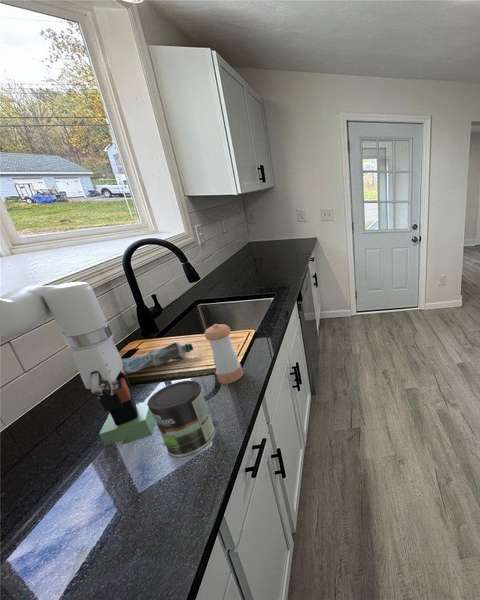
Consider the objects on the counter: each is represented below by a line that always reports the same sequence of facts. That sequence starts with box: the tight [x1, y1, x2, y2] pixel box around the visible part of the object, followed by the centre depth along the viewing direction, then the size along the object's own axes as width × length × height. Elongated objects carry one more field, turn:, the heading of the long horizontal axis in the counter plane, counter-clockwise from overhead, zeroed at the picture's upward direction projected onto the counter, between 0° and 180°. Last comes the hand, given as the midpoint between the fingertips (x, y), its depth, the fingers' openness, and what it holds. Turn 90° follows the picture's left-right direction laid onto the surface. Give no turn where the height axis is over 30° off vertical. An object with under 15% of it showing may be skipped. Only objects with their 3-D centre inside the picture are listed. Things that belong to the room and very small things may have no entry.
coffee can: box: [147, 380, 217, 458], centre depth 75 cm, size 10×10×14 cm
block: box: [98, 400, 156, 447], centre depth 81 cm, size 9×9×5 cm
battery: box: [102, 378, 138, 426], centre depth 78 cm, size 4×7×10 cm, turn 43°
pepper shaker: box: [204, 323, 244, 385], centre depth 98 cm, size 7×7×19 cm
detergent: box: [121, 341, 194, 376], centre depth 109 cm, size 13×7×25 cm
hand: (119, 398), depth 78 cm, fingers closed on battery, 7 cm apart
